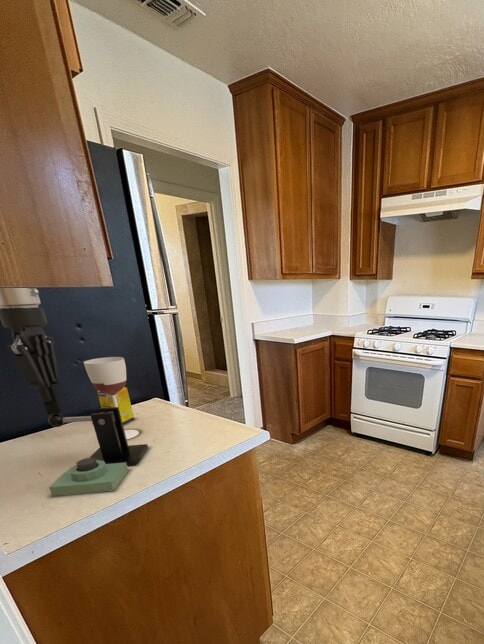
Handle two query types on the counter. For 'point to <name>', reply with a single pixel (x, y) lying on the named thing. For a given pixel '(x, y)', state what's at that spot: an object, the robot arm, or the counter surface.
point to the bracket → (114, 439)
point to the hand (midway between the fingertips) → (55, 412)
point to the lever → (68, 419)
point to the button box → (89, 479)
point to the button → (86, 464)
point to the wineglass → (109, 379)
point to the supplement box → (122, 403)
